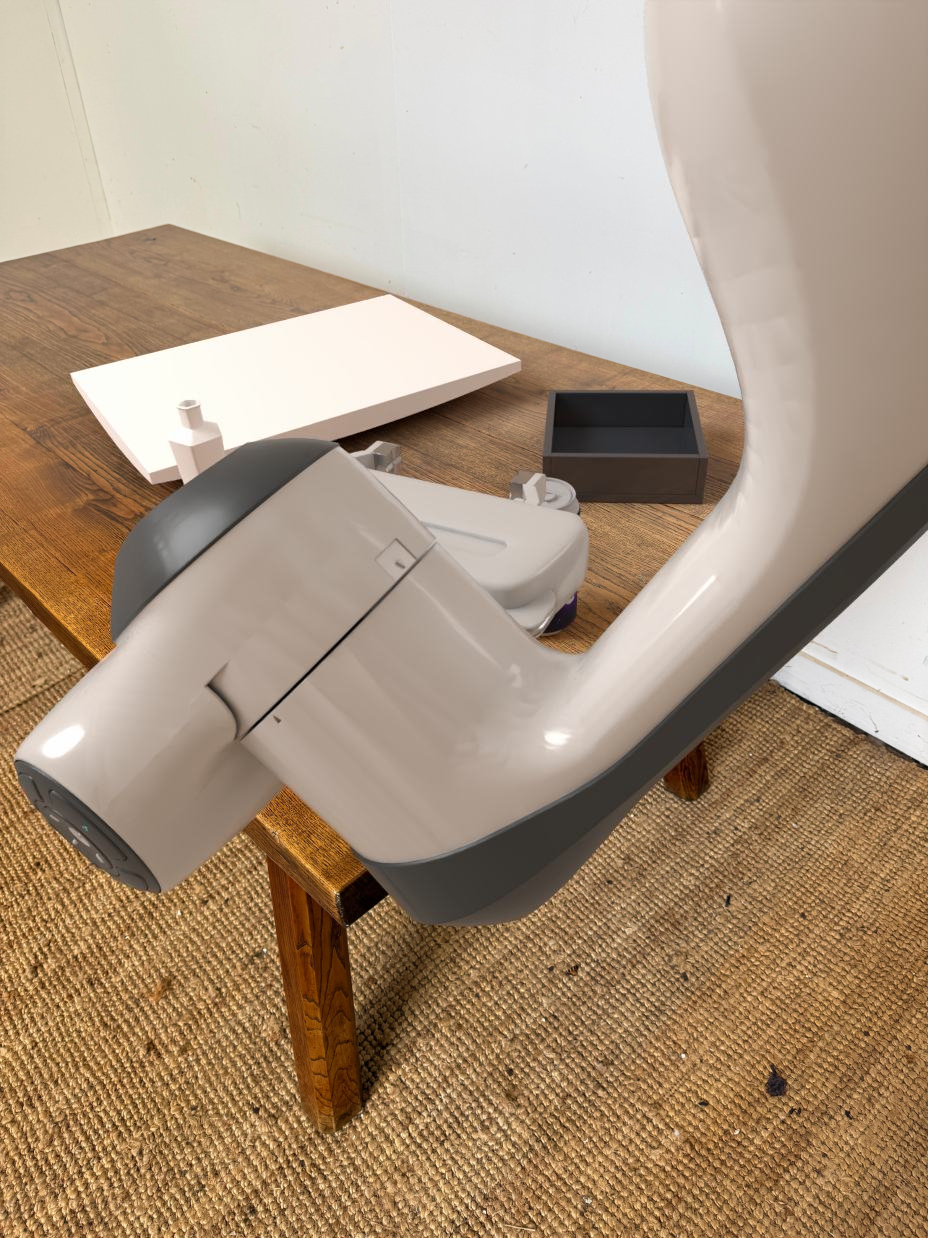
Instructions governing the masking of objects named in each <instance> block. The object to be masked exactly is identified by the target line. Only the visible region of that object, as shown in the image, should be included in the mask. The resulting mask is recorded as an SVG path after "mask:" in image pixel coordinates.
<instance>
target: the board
mask: <svg viewBox="0 0 928 1238" xmlns="http://www.w3.org/2000/svg"><path fill="white" fill-rule="evenodd" d="M521 371H522V360H521V359H520V358H517V357H515V356H513V355H512V354H510V353H507V352H506V351H503V350H501V349H500V348H498V347H496V346H493V345H491V344H489V343H487V342H485V341H484V340H482V339H479V338H478V337H476V336H474V335H472V334H470V333H468V332H466V331H463V330H462V329H460V328H458V327H455V326H454V325H451V324H450V323H449V322H445V321H444V320H442V319H440V318H438V317H435V316H434V315H432V314H430V313H428V312H426V311H425V310H422V309H420V308H418V307H416V306H414V305H412V304H410V303H408V302H407V301H405V300H402V299H400V298H398V297H396V296H394V295H392V294H390V293H389V294H385V295H380V296H377V297H372V298H369V299H365V300H364V299H363V300H361V301H356V302H352V303H348V304H343V305H340V306H337V307H332V308H328V309H324V310H320V311H316V312H312V313H308V314H304V315H299V316H296V317H295V316H294V317H291V318H287V319H284V320H279V321H275V322H272V323H271V322H270V323H268V324H263V325H259V326H255V327H251V328H247V329H244V330H243V329H242V330H239V331H235V332H231V333H227V334H223V335H219V336H214V337H210V338H206V339H203V340H199V341H195V342H191V343H187V344H182V345H179V346H174V347H171V348H167V349H161V350H158V351H155V352H150V353H147V354H141V355H138V356H133V357H131V358H130V357H129V358H126V359H122V360H118V361H114V362H110V363H105V364H102V365H98V366H93V367H90V368H86V369H82V370H81V369H80V370H77V371H74V372H70V373H69V374H70V377H71V380H72V382H73V384H74V386H75V389H77V391H78V393H79V395H80V396H81V397H82V398H83V400H84V401H85V403H86V405H87V406H88V408H89V409H90V411H91V412H92V414H93V415H94V417H95V418H96V419H97V420H98V422H99V424H100V425H101V426H102V428H103V429H104V431H105V432H106V433H107V434H108V436H109V438H111V440H112V441H113V442H114V443H115V445H116V446H117V447H118V449H119V451H121V453H123V455H124V456H125V457H126V458H127V460H128V461H129V462H130V463H131V464H132V465H133V467H134V468H136V470H137V471H138V472H139V473H140V474H141V475H142V476H143V477H144V478H145V479H146V480H147V481H148V482H149V483H150V484H151V485H156V484H157V485H158V484H162V483H168V482H173V481H176V480H182V477H181V474H180V472H179V469H178V466H177V463H176V461H175V458H174V455H173V452H172V450H171V447H170V444H169V441H168V438H169V437H170V436H171V435H172V434H174V433H175V432H176V431H177V430H178V429H179V428H180V427H181V426H182V424H181V420H180V416H179V412H178V409H177V408H176V407H175V405H176V404H177V403H179V402H180V401H181V400H183V399H195V398H198V399H199V400H200V402H201V405H200V408H201V412H202V416H203V420H204V421H210V422H216V423H217V424H218V426H219V429H220V431H221V434H222V439H223V445H224V451H225V456H227V455H228V454H230V453H231V452H233V451H234V450H236V449H237V448H239V447H240V446H242V445H244V444H245V443H247V442H254V441H262V440H269V439H283V438H312V439H320V440H327V441H331V442H333V441H336V440H338V439H342V438H346V437H348V436H353V435H355V434H357V433H361V432H365V431H367V430H370V429H373V428H376V427H379V426H382V425H385V424H388V423H391V422H394V421H397V420H400V419H403V418H406V417H409V416H411V415H414V414H417V413H420V412H423V411H425V410H428V409H430V408H434V407H436V406H439V405H441V404H444V403H446V402H447V403H448V402H450V401H453V400H454V399H457V398H459V397H462V396H464V395H467V394H470V393H471V392H474V391H477V390H480V389H481V388H484V387H487V386H489V385H491V384H494V383H496V382H499V381H502V380H503V379H505V378H508V377H510V376H512V375H514V374H517V373H519V372H521Z"/></svg>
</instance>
